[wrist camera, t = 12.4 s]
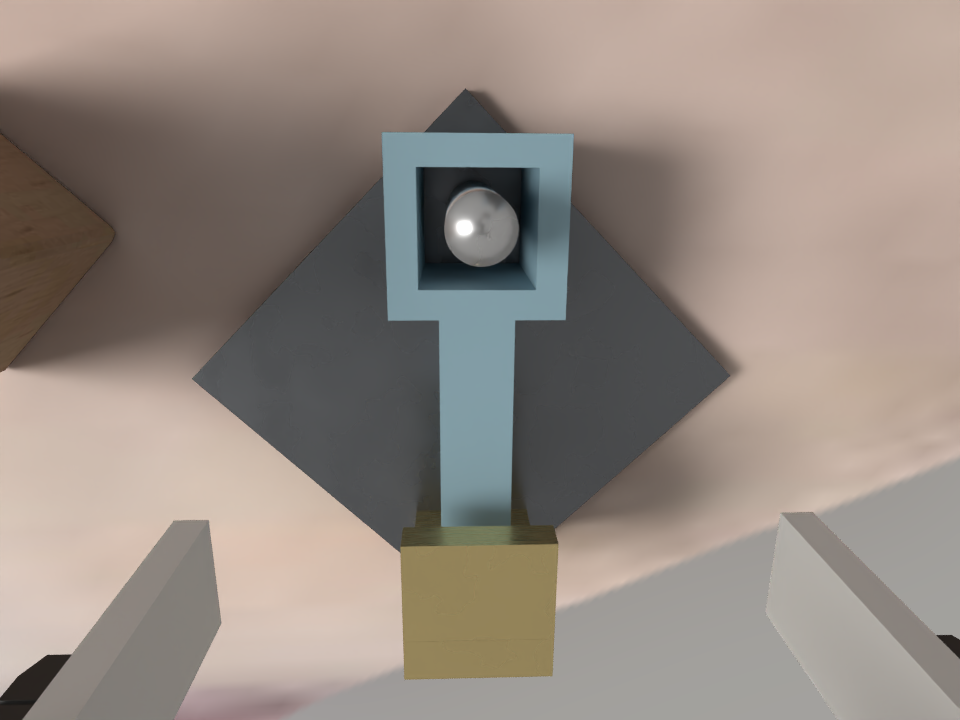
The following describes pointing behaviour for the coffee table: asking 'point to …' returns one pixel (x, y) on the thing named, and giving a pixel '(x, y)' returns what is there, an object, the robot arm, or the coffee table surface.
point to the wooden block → (39, 247)
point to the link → (477, 300)
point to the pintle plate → (416, 407)
